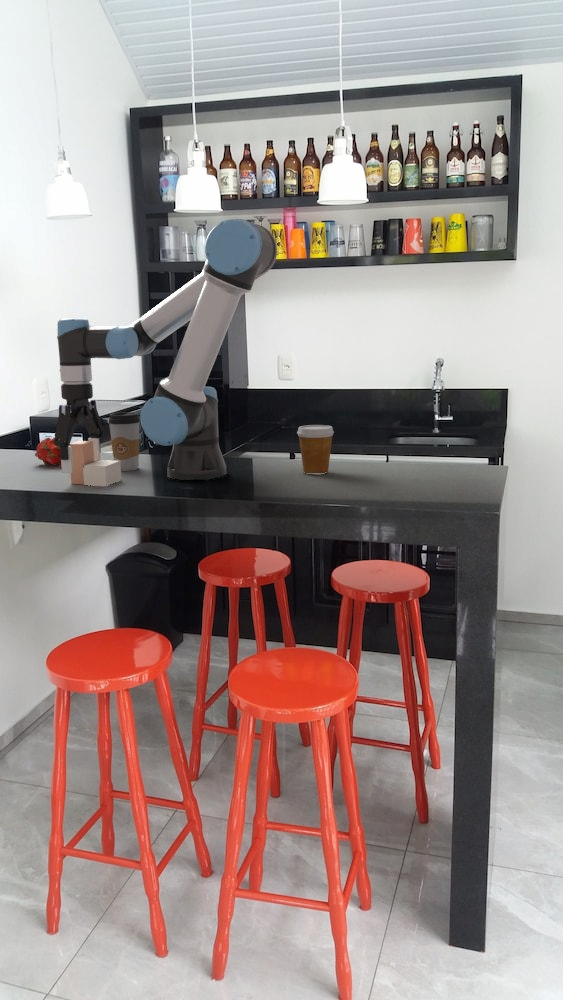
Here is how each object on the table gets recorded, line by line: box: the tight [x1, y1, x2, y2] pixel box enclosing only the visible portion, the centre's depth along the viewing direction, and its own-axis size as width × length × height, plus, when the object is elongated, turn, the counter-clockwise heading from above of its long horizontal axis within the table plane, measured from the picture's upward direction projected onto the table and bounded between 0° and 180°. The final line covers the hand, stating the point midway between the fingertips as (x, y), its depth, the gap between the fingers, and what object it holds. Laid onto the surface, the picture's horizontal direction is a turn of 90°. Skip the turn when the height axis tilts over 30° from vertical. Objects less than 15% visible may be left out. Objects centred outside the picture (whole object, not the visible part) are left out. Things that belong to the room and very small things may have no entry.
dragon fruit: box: [34, 437, 61, 467], centre depth 233 cm, size 8×8×12 cm
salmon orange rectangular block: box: [69, 440, 94, 485], centre depth 208 cm, size 4×5×10 cm
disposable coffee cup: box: [296, 424, 335, 473], centre depth 214 cm, size 10×10×12 cm
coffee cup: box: [108, 411, 141, 472], centre depth 224 cm, size 8×8×15 cm
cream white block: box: [83, 459, 122, 487], centre depth 207 cm, size 6×8×5 cm
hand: (81, 468), depth 208 cm, fingers open, 13 cm apart
